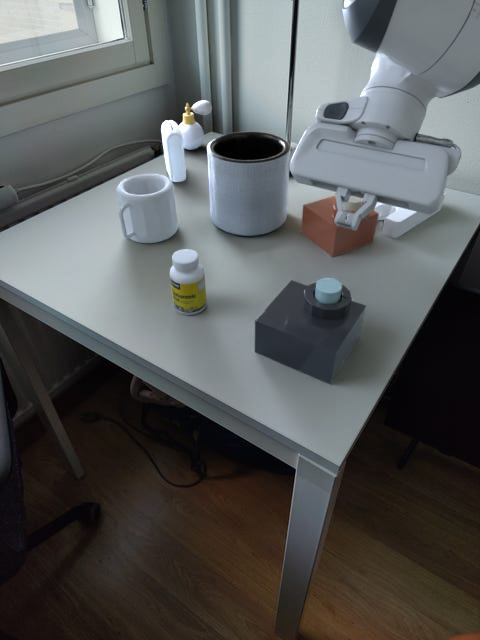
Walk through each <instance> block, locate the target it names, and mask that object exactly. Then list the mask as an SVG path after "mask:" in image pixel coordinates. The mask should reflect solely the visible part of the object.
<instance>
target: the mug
mask: <svg viewBox="0 0 480 640" xmlns="http://www.w3.org/2000/svg"><path fill="white" fill-rule="evenodd" d="M116 196H117V200H118V203H119V207H120V209H119V210H118V218H119V223H120V227H121V232H122V237H123V238H124V239H128V240H131V241H133V242H136V243H142V244H155V243H159V242H164V241H166V240H168V239H170V238H172V237H173V236H174V235H176V233H177V231H178V229H179V222H178V214H177V206H176V197H175V187H174V183H173V181H172V180H171V179H170V177H168V176H165V175H163V174H159V173H142V174H136V175H132V176H128V177H126V178H125V179H123V180H121V181H119V183H118V185H117V187H116Z"/></svg>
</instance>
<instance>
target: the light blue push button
mask: <svg viewBox="0 0 480 640" xmlns="http://www.w3.org/2000/svg"><path fill="white" fill-rule="evenodd" d="M316 282H317V283H316V288H315V298H316V300H317V301H319V302H321V303H324V304H335V303H337V302H338V301H339V300H340V298H341V292H342V285H343V284H342V283H341V281H340V280H338V279H336V278H333V277H322V278H320V279H318V280H317V281H316Z"/></svg>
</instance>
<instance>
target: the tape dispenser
mask: <svg viewBox="0 0 480 640" xmlns="http://www.w3.org/2000/svg"><path fill="white" fill-rule="evenodd" d="M445 196H446V192H445V191H444V194H443V198H442V201H441V204H440V206H439V209H438V210H436V211H435V212H433V213H431V214H425V213H420V212H416V211H412V210H408V209H404V208H400V207H396V206H392V205H388V204H383V203H379V202H377V203H376V206H375V209H374V211H376V212H377V213H379V215H378V220H377V222H378V221H383V226H382V230H381V234H382V235H384V236H385V237H388V238H391V239H397V238H399V237H401V236H403V235H404V234H406V233H407V232H409V231H410V230H412V229H413V228H415V227H417V226H418V225H420V224H421V223H423V222H425V221H426V220H428V219H429V218H431V217H432V216H434V215H436V214H437V213H439V212H440V211H441V209H442V206H443V204H444V199H445Z"/></svg>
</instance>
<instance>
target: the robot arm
mask: <svg viewBox="0 0 480 640" xmlns="http://www.w3.org/2000/svg"><path fill="white" fill-rule="evenodd" d="M341 8H342V10H341V11H342V16H343V22H344V26H345V29H346V31H347V35H348V38H349V41H350V42H351V43H352V44H354V45H356V46H359V47H360V48H363V49H365V50H367V51H369V52H371V53H373V54H375V56H374V58H373V59H374V60H373V62H372V65H371V69H370V78H369V80H368V82H367V84H366V85H365V87H364V88H363V89H362V91H361V92H360V95H359V96H357V97H353V98H349V99H344V100H338V101H333V102H325V103H322V104H320V105H318V107H317V109H316V112H315V119H316V122H315V123H312V124H311V125H310V126H308V128H307V129H306V130H305V131H304V133H303V134H302V136H301V138H300V140H299V142H298V144H297V146H296V148H295V151H294V152H293V155H292V158H291V159H290V166H289V172H290V173H291V176H292V177H293V179H294V180H295V181H296V183H298V184H302V185H306V186H311V187H314V188H318V189H322V190H327V191H331V192H334V193H335V194H334V196H336V202H337V208H338V212H337V214H336V217H335V219H334V223H335V225H337V226H340V227H344V228H348V229H351V230H355V231H356V230H357V229H358V226H359V224H360V221H361V219H363V218H364V217H366V216H367V215H368V214H369V213H370V212H372V211H373V210H374V209H375V206H376V203H377V202H379V203H383V204H388V205H392V206H396V207H400V208H404V209H408V210H412V211H416V212H420V213H425V214H431V213H433V212H435V211H436V210H438V209H439V206H440V204H441V201H442V198H443V194H444V192H445V190H446V186H447V181H448V177H449V176H451V175H452V174H453V173H454V172H455V171H456V170H457V168H458V166H459V163H460V161H461V158H462V149H461V148H460V146H458V145H457V144H456V143H454V140H452V139H450V138H445V137H444V138H440V137H436V136H432V135H428V134H423V133H420V131H421V129H422V125H423V122H424V120H425V118H426V115H427V109H428V106H429V104H430V102H431V101H432V100H433V99H434V98H438V99H444V98H447V97H451V96H454V95H457V94H460V93H462V92H465V91H469V90H471V89H473V88H476V87H477V86H479V85H480V0H342V3H341ZM350 196H355V197H359V198H362V201H363V203H364V205H363V206H362V207H361V208H360V209H359V210H358V211H356V212H355V213H351V212H347V211H345V208H344V202H348V201H349V198H350Z"/></svg>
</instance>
